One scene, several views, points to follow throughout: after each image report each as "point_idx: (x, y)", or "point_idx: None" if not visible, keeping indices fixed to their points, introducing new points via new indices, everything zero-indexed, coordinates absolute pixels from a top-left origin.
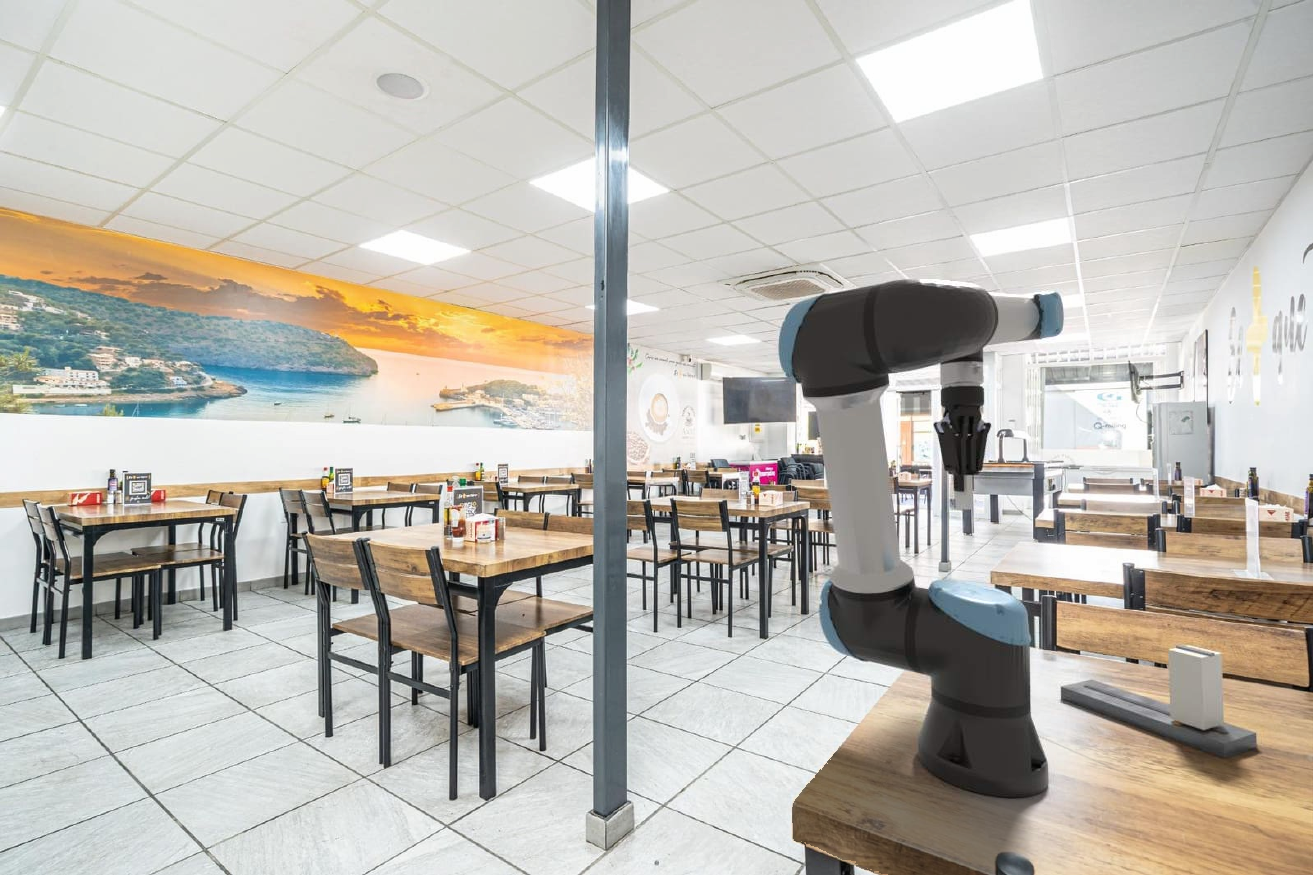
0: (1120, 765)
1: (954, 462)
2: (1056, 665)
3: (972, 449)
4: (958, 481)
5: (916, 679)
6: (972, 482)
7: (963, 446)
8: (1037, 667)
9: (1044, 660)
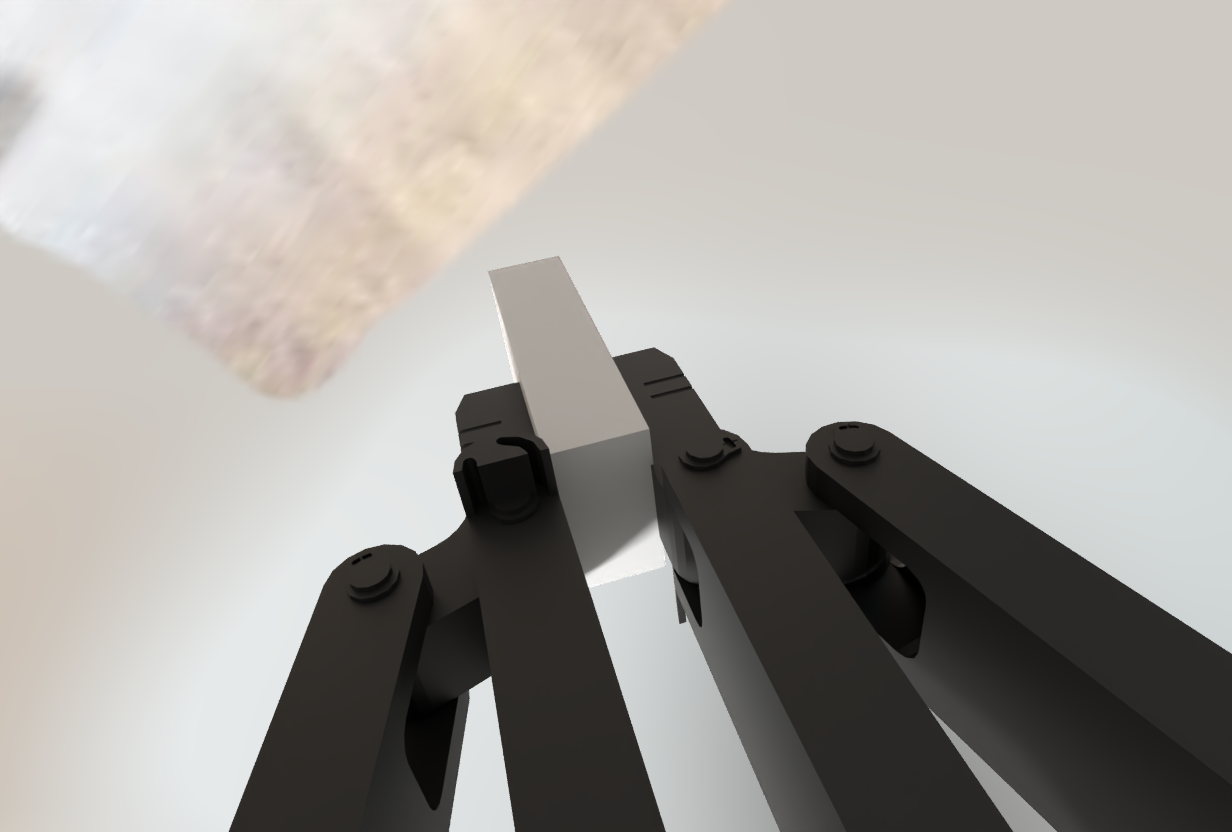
0: None
1: (952, 487)
2: (29, 19)
3: (609, 814)
4: (704, 413)
5: (666, 32)
6: (530, 399)
7: (901, 791)
8: (136, 20)
9: (47, 87)
